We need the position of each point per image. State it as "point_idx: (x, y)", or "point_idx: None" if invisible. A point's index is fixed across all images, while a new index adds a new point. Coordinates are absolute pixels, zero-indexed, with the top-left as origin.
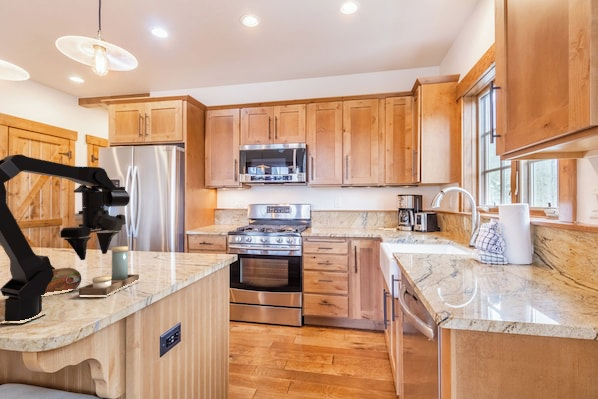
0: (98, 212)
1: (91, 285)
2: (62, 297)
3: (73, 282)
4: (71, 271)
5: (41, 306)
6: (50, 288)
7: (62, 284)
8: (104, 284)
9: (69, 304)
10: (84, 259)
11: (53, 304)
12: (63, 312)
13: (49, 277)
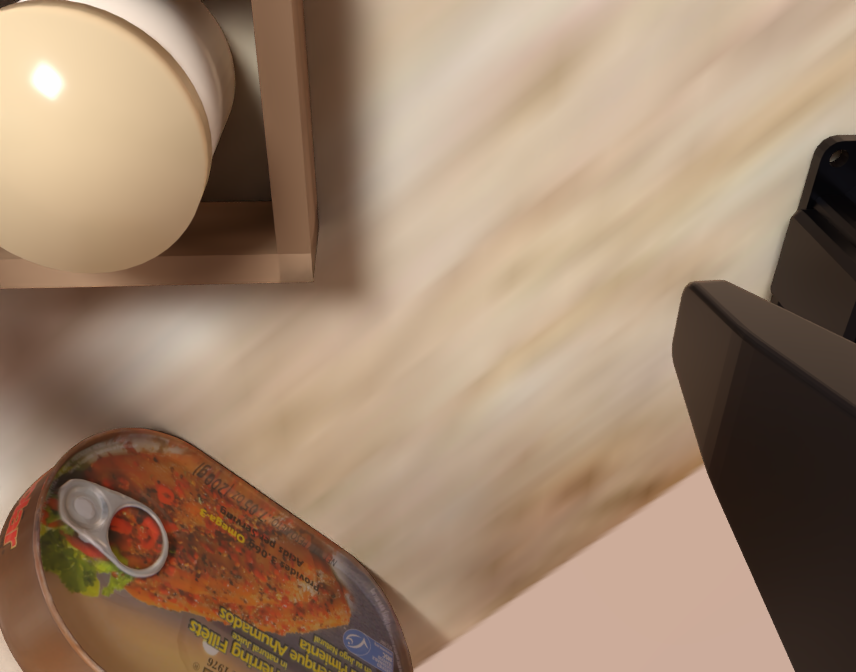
0: None
1: None
2: (317, 387)
3: (121, 493)
4: (91, 619)
5: (827, 230)
6: (269, 566)
7: (196, 539)
8: (152, 24)
9: (527, 159)
10: (720, 280)
11: (517, 309)
12: (781, 20)
13: None
